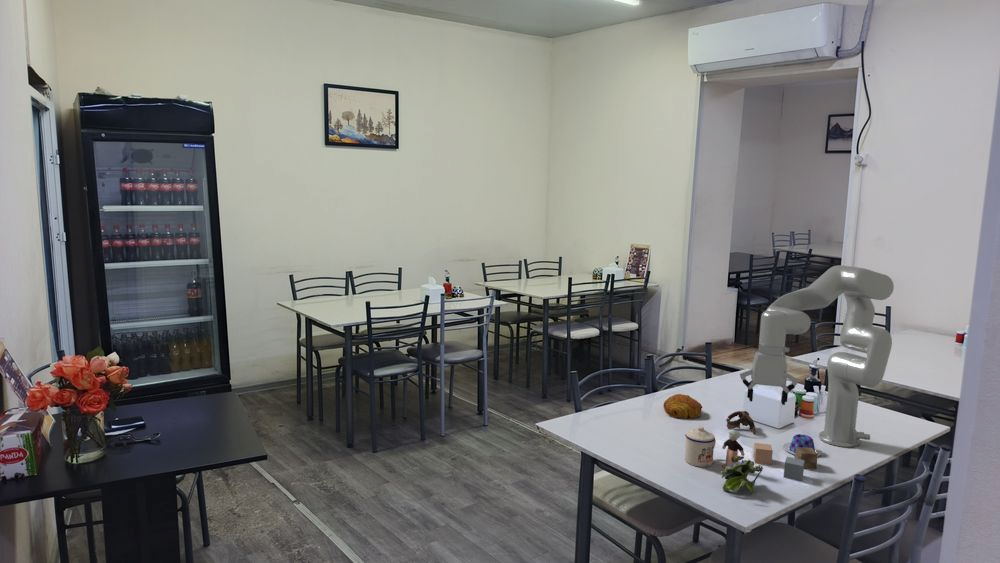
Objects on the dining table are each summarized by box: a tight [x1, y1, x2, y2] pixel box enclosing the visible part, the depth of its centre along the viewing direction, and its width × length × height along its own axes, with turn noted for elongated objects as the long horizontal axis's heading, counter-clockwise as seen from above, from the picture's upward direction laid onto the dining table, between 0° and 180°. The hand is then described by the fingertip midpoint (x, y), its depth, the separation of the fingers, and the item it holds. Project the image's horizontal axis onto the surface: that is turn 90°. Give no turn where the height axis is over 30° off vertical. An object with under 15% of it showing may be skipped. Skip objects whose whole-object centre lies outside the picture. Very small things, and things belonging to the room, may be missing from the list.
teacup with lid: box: [684, 425, 717, 468], centre depth 206 cm, size 12×9×12 cm
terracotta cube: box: [752, 442, 774, 466], centre depth 207 cm, size 5×5×5 cm
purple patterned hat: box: [782, 433, 823, 457], centre depth 216 cm, size 12×12×5 cm
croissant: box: [662, 393, 703, 420], centre depth 250 cm, size 14×16×8 cm
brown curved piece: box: [725, 410, 757, 436], centre depth 234 cm, size 12×10×8 cm
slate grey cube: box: [783, 456, 805, 482], centre depth 196 cm, size 5×5×5 cm
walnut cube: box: [794, 447, 819, 470], centre depth 204 cm, size 5×5×5 cm
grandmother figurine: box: [721, 428, 745, 468], centre depth 201 cm, size 8×4×13 cm, turn 47°
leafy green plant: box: [720, 455, 764, 496], centre depth 187 cm, size 11×11×12 cm
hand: (766, 402), depth 204 cm, fingers open, 9 cm apart
